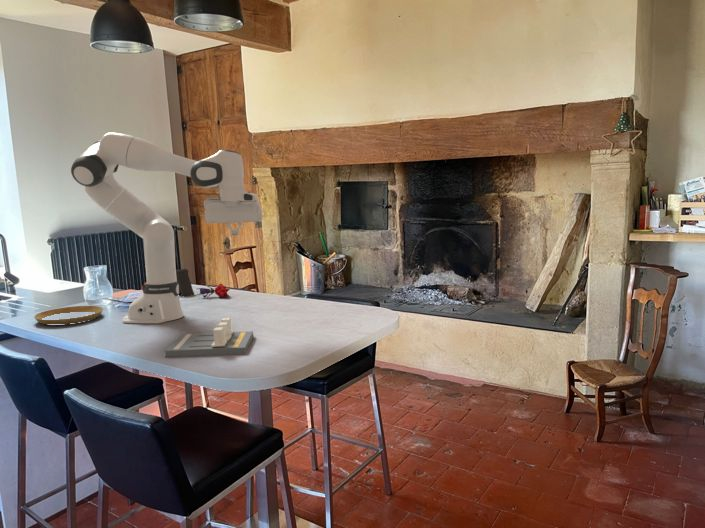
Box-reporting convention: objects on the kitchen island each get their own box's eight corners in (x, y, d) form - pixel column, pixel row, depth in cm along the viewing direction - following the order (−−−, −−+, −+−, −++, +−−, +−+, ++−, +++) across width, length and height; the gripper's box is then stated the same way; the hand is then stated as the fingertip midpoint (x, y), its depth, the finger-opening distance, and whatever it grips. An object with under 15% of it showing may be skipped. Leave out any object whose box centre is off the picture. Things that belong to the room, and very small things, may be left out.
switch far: (219, 335, 177) (218, 320, 176) (221, 331, 181) (220, 317, 180) (231, 335, 177) (230, 320, 176) (233, 331, 181) (233, 316, 180)
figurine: (198, 294, 252) (231, 293, 254) (196, 302, 244) (230, 300, 246) (197, 282, 249) (230, 280, 251) (194, 289, 242) (229, 288, 244)
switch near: (211, 346, 165) (210, 330, 164) (214, 342, 169) (213, 327, 168) (224, 346, 165) (223, 330, 164) (227, 342, 169) (226, 326, 169)
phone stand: (194, 294, 257) (192, 269, 255) (183, 296, 252) (181, 271, 250) (181, 292, 262) (179, 268, 260) (171, 294, 257) (169, 269, 255)
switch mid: (216, 340, 171) (215, 325, 170) (219, 337, 175) (218, 322, 174) (229, 340, 171) (228, 325, 170) (231, 336, 175) (230, 321, 175)
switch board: (165, 357, 164) (164, 350, 164) (181, 339, 182) (181, 333, 181) (245, 353, 165) (244, 347, 165) (253, 337, 183) (252, 331, 182)
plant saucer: (82, 310, 231) (81, 302, 230) (116, 316, 218) (115, 308, 217) (23, 323, 211) (21, 315, 210) (56, 331, 198) (55, 322, 197)
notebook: (98, 299, 254) (98, 295, 254) (131, 292, 267) (130, 288, 267) (132, 305, 238) (131, 301, 238) (165, 298, 252) (164, 294, 251)
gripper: (201, 197, 188) (203, 236, 191) (260, 195, 189) (262, 235, 191) (205, 196, 195) (207, 235, 197) (262, 195, 195) (264, 233, 198)
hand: (235, 235), depth 194 cm, fingers closed
